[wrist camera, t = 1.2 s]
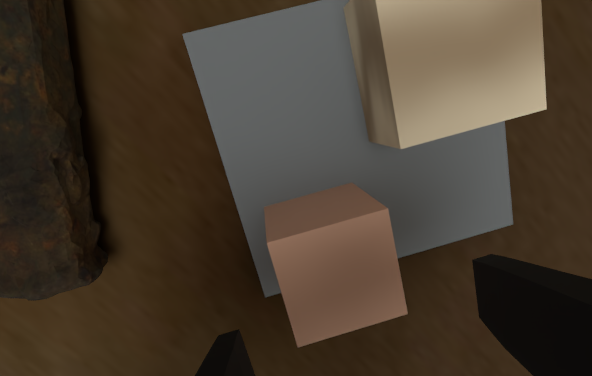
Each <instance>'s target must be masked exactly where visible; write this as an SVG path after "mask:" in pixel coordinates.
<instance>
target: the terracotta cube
mask: <svg viewBox="0 0 592 376" xmlns="http://www.w3.org/2000/svg"><path fill="white" fill-rule="evenodd" d="M264 215H265V228H266V241H267V246H268V249H269V253H270V256H271V259H272V263H273V266H274V269H275V273H276V276H277V279H278V283H279V286H280V289H281V293H282V296H283V299H284V303H285V306H286V309H287V313H288V316H289V319H290V323H291V326H292V330H293V333H294V336H295V340H296V343H297V346H298V347H301V346H305V345H308V344H311V343H314V342H318V341H321V340H324V339H327V338H331V337H334V336H337V335H340V334H344V333H347V332H350V331H354V330H357V329H360V328H363V327H367V326H370V325H373V324H376V323H380V322H383V321H386V320H389V319H393V318H396V317H399V316H403V315H406V314H408V312H407V307H406V301H405V296H404V291H403V285H402V280H401V275H400V269H399V264H398V259H397V253H396V248H395V243H394V237H393V232H392V227H391V221H390V216H389V211H388V208H387V207H385V206H384V205H383V204H381V203H380V202H378V201H377V200H376V199H374V198H373V197H371V196H370V195H369V194H367V193H366V192H364V191H363V190H362V189H360V188H359V187H357V186H356V185H355V184H353V183H348V184H345V185H341V186H337V187H334V188H330V189H327V190H323V191H319V192H316V193H312V194H309V195H305V196H301V197H298V198H294V199H291V200H287V201H284V202H280V203H276V204H273V205H269V206H266V207H264Z"/></svg>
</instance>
